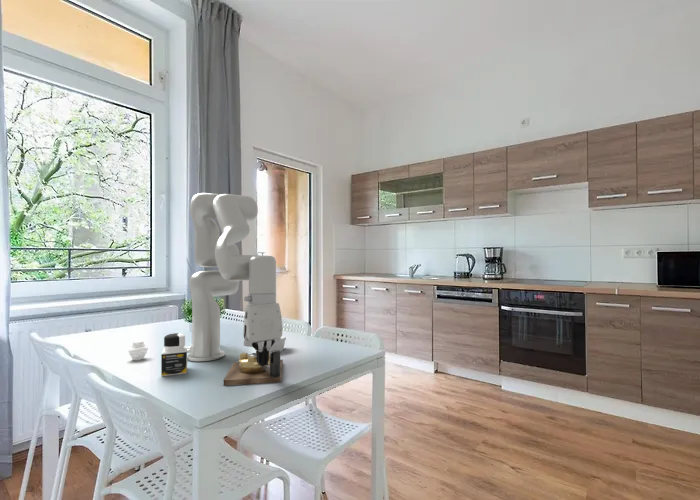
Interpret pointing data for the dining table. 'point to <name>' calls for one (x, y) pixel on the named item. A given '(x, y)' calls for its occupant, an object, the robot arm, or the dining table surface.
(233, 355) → the dining table surface
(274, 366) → the brass valve
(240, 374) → the walnut board
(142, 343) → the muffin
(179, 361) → the medicine bottle
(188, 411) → the dining table surface
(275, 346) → the ramekin
